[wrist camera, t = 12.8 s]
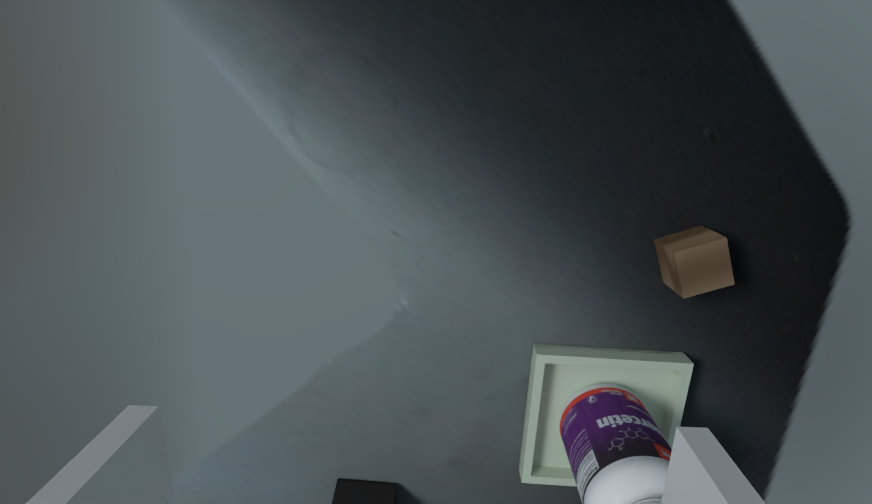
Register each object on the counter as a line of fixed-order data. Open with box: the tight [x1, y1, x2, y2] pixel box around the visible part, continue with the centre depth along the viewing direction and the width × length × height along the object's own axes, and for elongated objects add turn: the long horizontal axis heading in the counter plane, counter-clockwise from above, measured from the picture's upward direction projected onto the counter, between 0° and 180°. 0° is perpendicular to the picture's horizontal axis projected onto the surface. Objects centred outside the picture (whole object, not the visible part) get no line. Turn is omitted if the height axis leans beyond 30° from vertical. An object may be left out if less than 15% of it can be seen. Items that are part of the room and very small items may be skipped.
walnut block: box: [654, 226, 735, 299], centre depth 40 cm, size 4×4×4 cm
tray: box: [519, 343, 694, 486], centre depth 45 cm, size 14×14×2 cm
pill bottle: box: [559, 383, 672, 504], centre depth 39 cm, size 8×8×14 cm
